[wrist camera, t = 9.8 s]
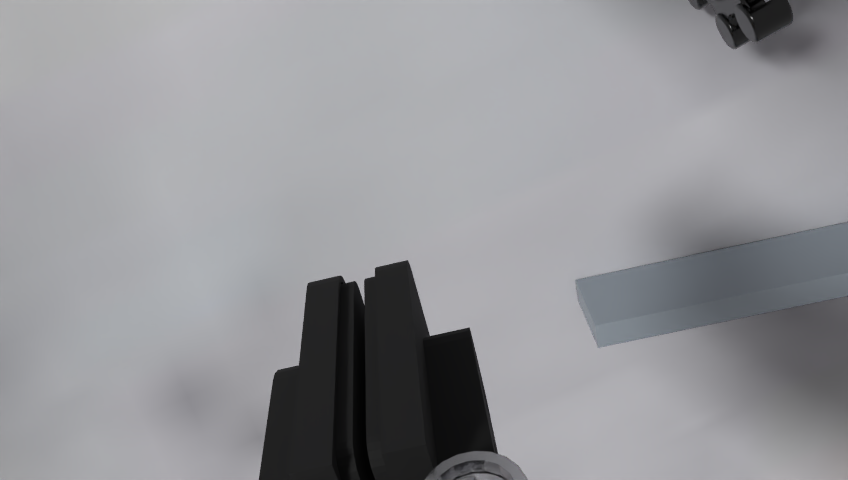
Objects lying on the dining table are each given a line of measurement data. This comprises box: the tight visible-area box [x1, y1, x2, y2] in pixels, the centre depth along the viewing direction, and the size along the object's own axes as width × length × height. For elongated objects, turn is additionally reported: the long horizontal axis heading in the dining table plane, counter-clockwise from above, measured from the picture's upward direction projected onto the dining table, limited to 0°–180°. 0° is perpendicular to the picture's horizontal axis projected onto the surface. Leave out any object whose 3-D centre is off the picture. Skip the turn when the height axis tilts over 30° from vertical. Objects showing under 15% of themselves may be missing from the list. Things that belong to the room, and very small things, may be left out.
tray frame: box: [575, 222, 848, 348], centre depth 23 cm, size 19×17×3 cm
